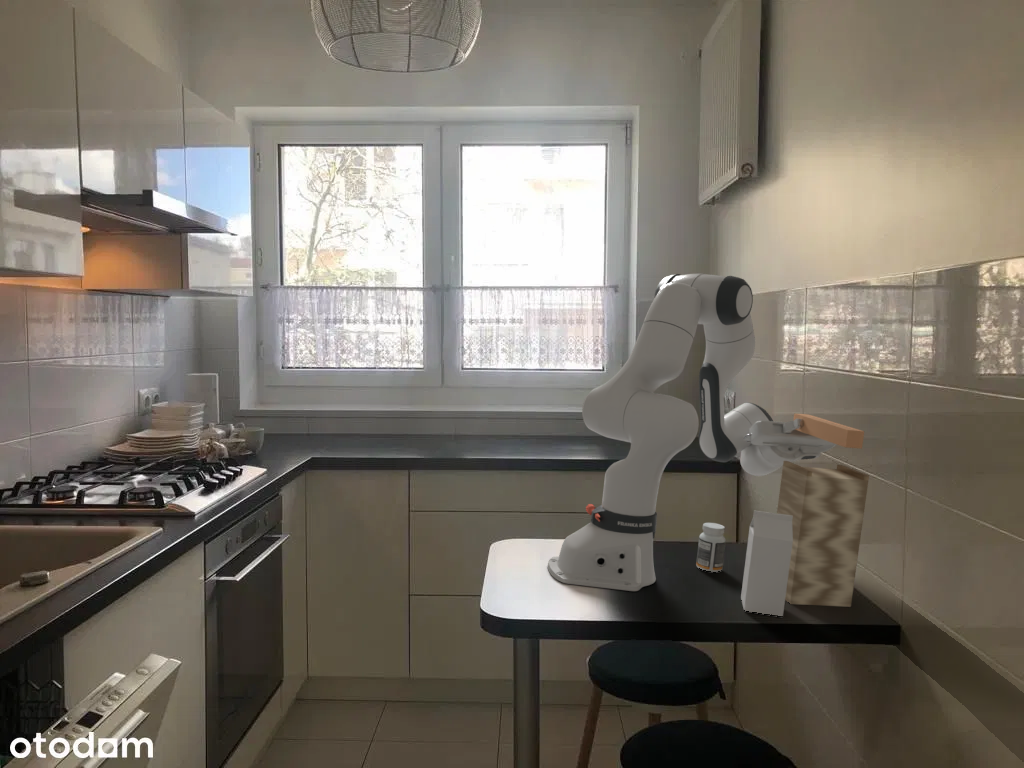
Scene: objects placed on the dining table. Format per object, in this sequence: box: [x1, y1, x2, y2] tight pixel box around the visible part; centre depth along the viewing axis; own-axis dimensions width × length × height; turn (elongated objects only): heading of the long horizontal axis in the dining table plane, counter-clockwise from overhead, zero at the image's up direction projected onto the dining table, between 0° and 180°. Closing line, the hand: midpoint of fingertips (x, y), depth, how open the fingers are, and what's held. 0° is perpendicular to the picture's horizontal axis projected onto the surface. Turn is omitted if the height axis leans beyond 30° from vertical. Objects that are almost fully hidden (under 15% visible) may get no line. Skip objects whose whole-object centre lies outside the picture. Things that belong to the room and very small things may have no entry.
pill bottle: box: [695, 522, 727, 573], centre depth 170 cm, size 6×6×10 cm
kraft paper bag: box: [776, 461, 870, 608], centre depth 157 cm, size 13×10×27 cm
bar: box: [792, 412, 865, 450], centre depth 163 cm, size 4×22×4 cm, turn 7°
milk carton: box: [740, 510, 793, 617], centre depth 148 cm, size 7×7×19 cm
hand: (811, 422), depth 169 cm, fingers closed on bar, 3 cm apart
